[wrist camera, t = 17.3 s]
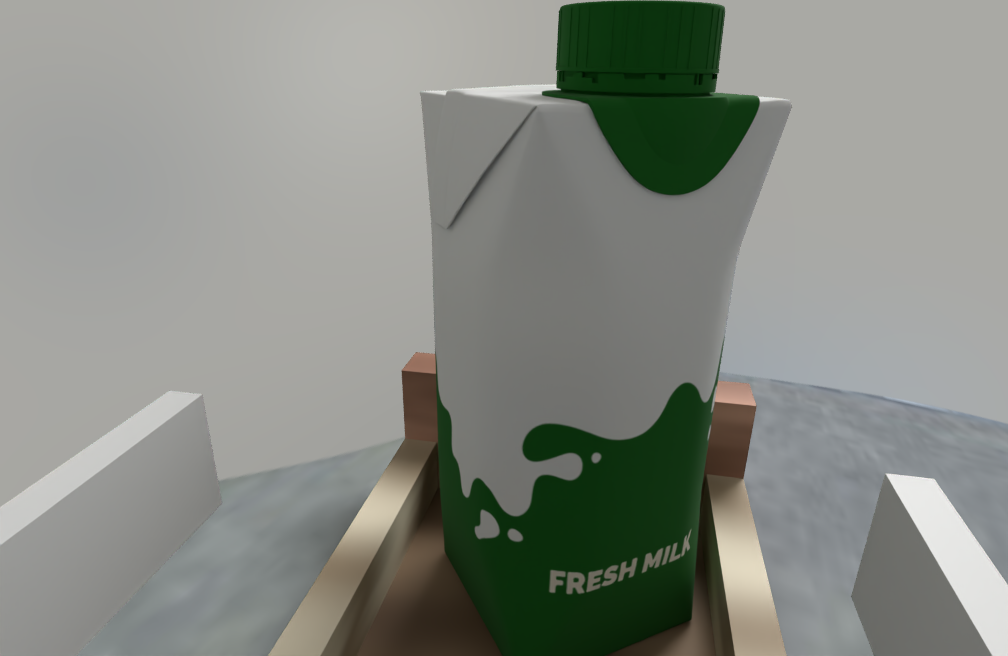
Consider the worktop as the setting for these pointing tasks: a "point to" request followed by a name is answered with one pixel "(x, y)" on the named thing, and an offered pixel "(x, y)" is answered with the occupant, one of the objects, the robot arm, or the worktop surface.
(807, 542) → the worktop surface
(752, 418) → the dock
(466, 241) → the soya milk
